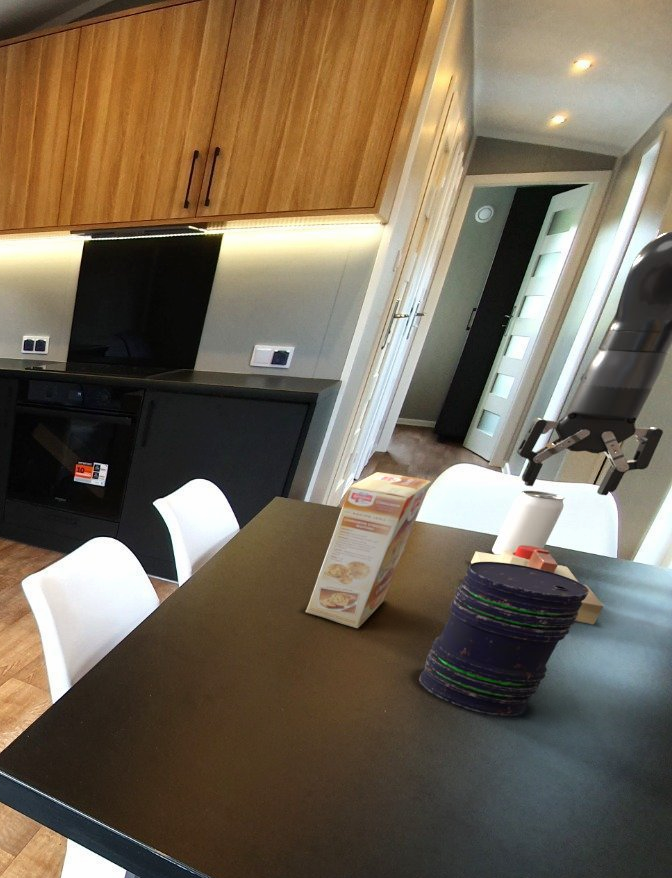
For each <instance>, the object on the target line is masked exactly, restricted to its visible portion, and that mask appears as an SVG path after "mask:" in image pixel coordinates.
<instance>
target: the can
mask: <svg viewBox="0 0 672 878" xmlns="http://www.w3.org/2000/svg"><path fill="white" fill-rule="evenodd" d="M564 500H565V496H563V495H560V494H556V493H553V492H552V493H551V492H546V491H540V490H539V491H538V490H522V491H521V494H519V496H517V497H516V498H515V499H514V501H513V503H512V505H511V507H510V509H509V512H508V513H507V515H506V518H505V520H504V522H503V525H502V527H501V529H500V531H499V533H498V535H497V537H496V540H495V542H494V544H493V546H492V549H491V551H492V554H494V555H500V556H501V554H502V552H503V551H505V550H517V548H518V546H521V545H525V546H533V547H538V548H541V549H545V546H546V545H547V542H548V540H549V538H550V536H551V534H552V532H553V530H554V529H555V526H556V524H557V522H558V520H559V518H560V517H561V514H562V511H563V509H564V508H565V507H564Z"/></svg>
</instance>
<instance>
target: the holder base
mask: <svg viewBox="0 0 672 878" xmlns="http://www.w3.org/2000/svg"><path fill="white" fill-rule="evenodd" d="M466 575H467V573H466V574H465V576H466ZM582 584H583V583H582ZM583 585H584V586H586V587H587V588H588V589H589V592H588V594H587V596H586V598H585V599H584V600H582V601H581V602H582V605H581V607H580V609H579V611H578V616H577V618H576V619H575V621H574V622H579V623H583V624H589V625H595V623H596V622H597V619H598V618H599V616H600V614H601V612H602V611H603V609H604V604H602V602H601V601H600V600H599V599H598V597H597V596H596V595H595V593H594V592H593V591H592V590H591V588H590V587H589V586H588V584H583Z"/></svg>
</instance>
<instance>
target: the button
mask: <svg viewBox="0 0 672 878" xmlns="http://www.w3.org/2000/svg"><path fill="white" fill-rule="evenodd" d="M536 549H541V548H538V547H533V546H525V545H521V546H518V548H517V550H516V552H515V556H518V557H521V558H525V559H529V560H530V558H531V556H532V554H533V552H534V550H536ZM542 550H545V548H543V549H542Z"/></svg>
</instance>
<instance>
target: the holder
mask: <svg viewBox="0 0 672 878" xmlns="http://www.w3.org/2000/svg"><path fill="white" fill-rule="evenodd" d="M555 561H556V559H554V558H553V556H552V555H551V554H550V551H549V550H547V549H544V550H542V549H536V550H534V552H533V554H532V556H531V558H530V560H529V562H528V564H527V567H532V568H537V569H541V570H545V571H549V572H552V573H554V571H555V569H556V567H557V565H559V564H558V563H557V561H556V562H555Z"/></svg>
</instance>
